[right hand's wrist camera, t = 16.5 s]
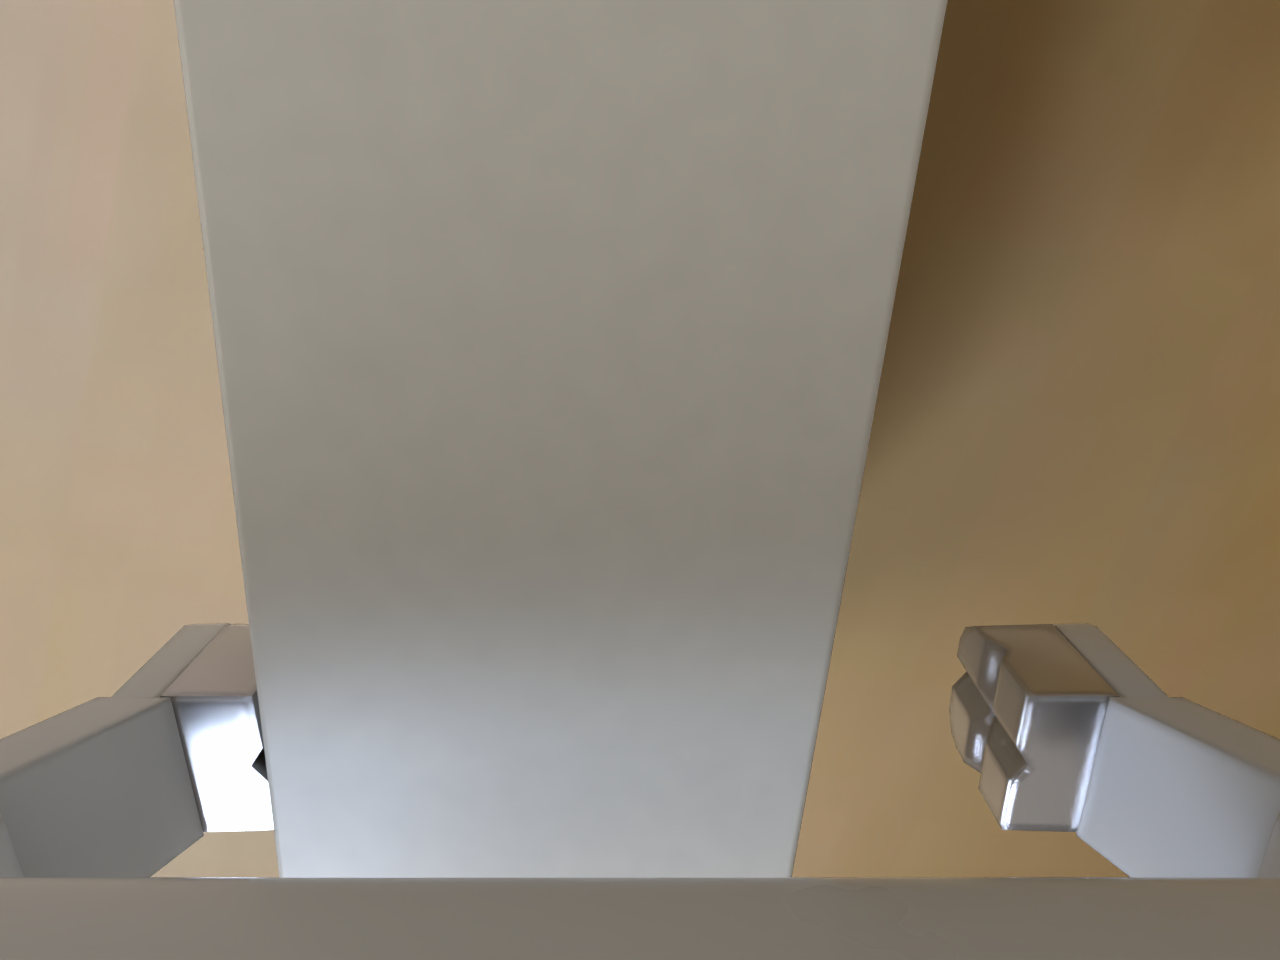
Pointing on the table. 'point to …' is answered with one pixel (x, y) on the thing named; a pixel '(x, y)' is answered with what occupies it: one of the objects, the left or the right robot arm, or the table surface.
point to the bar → (549, 409)
